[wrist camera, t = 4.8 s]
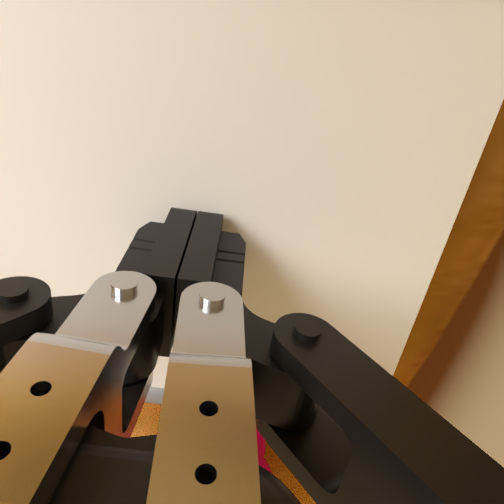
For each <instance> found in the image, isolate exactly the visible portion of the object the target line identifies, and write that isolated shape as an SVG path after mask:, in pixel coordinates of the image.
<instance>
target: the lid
mask: <svg viewBox="0 0 504 504" xmlns="http://www.w3.org/2000/svg"><path fill="white" fill-rule="evenodd" d="M503 99H504V0H0V279H3V278H8V277H15V276H28V277H34V278H37V279H40V280H42V281H44V282H46V283H47V284H48V285H49V287H50V289H51V297H57V296H71V295H80V294H85V293H86V292H87V291H88V289H89V288H90V287H91V285H92V284H93V283H94V282H95V280H97V279H98V278H99V277H101V276H103V275H105V274H108V273H111V272H115V271H116V269H117V267H118V265H119V264H120V262H121V260H122V258H123V256H124V254H125V253H126V251H127V249H129V245H130V243H131V242H132V240H133V238H134V236H135V234H136V232H137V231H138V229H139V228H141V227H142V226H144V225H145V224H147V223H149V222H150V221H151V222H159V223H164V222H165V220H166V218H167V216H168V213H169V211H170V209H171V207H173V208H180V209H187V210H195V211H197V214H198V211H202V212H210V213H217V214H224V217H223V226H222V231H225V232H232V233H240V235H241V236H242V238H243V239H244V241H245V242H246V251H245V263H244V276H243V289H242V299H243V302H244V304H245V306H246V307H247V308H248V309H249V310H250V311H251V312H252V313H254V314H255V315H257V316H259V317H260V318H263V319H265V320H268V321H270V322H273V323H276V321H277V320H278V319H279V318H280V317H282V316H284V315H287V314H290V313H306V314H311V315H314V316H317V317H319V318H321V319H323V320H325V321H326V322H328V323H329V324H330V325H332V326H333V327H334V328H335V329H336V330H338V331H339V332H340V333H341V334H342V335H344V336H345V337H346V338H347V339H348V340H350V341H351V342H352V343H353V344H355V345H356V346H357V347H358V348H359V349H361V350H362V351H363V352H364V353H365V354H367V355H368V356H369V357H370V358H371V359H373V360H374V361H375V362H376V363H378V364H379V365H380V366H381V367H382V368H384V369H385V370H386V371H387V372H388V373H390V374H391V375H392V376H393V374H394V372H395V369H396V367H397V364H398V362H399V359H400V357H401V354H402V352H403V349H404V347H405V344H406V342H407V339H408V337H409V334H410V332H411V329H412V327H413V324H414V322H415V319H416V317H417V314H418V312H419V309H420V307H421V304H422V302H423V299H424V297H425V294H426V292H427V289H428V287H429V284H430V282H431V279H432V277H433V274H434V272H435V269H436V267H437V264H438V262H439V259H440V257H441V254H442V252H443V249H444V247H445V244H446V242H447V239H448V237H449V234H450V232H451V229H452V227H453V224H454V222H455V219H456V217H457V214H458V212H459V209H460V207H461V204H462V202H463V199H464V197H465V194H466V192H467V189H468V187H469V184H470V182H471V179H472V177H473V174H474V172H475V169H476V167H477V164H478V162H479V159H480V157H481V154H482V152H483V149H484V147H485V144H486V142H487V139H488V137H489V134H490V132H491V129H492V127H493V124H494V122H495V119H496V117H497V114H498V112H499V109H500V107H501V104H502V102H503ZM172 350H173V346H172ZM172 350H171V353H172ZM168 361H169V357H163V356H158V360H157V363H156V366H155V368H154V370H153V381H152V384H151V387H150V389H149V392H148V394H147V397H146V399H145V402H146V403H154V404H162V399H163V393H164V387H165V380H166V374H167V368H168Z"/></svg>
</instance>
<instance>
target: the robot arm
mask: <svg viewBox="0 0 504 504" xmlns="http://www.w3.org/2000/svg"><path fill="white" fill-rule="evenodd" d="M223 217H224V214H217V213H210V212H202V211H198V214H197V211H195V210H187V209H180V208H173V207H171V209H170V211H169V213H168V216H167V218H166V220H165V222H164V223H159V222H151V221H150V222H149V223H147V224H145V225H144V226H142V227H141V228H139V229H138V231H137V232H136V234H135V236H134V238H133V240H132V242H131V243H130V245H129V249H127V251H126V253H125V254H124V256H123V258H122V260H121V262H120V264H119V265H118V267H117V269H116V271H115V272H111V273H108V274H105V275H103V276H101V277H99V278H98V279H97V280H95V282H94V283H93V284H92V285H91V287H90V288H89V289H88V291H87V292H86V293H85V294H80V295H71V296H57V297H51V289H50V287H49V285H48V284H47V283H46V282H44V281H42V280H40V279H37V278H34V277H28V276H15V277H8V278H3V279H0V504H301V503H300V502H299V501H298V499H297V498H296V497H295V496H294V494H293V493H292V492H291V491H290V490H289V489H288V488H287V487H286V486H285V485H284V484H283V482H281V481H280V480H279V479H278V478H277V477H276V476H274V475H273V474H272V473H271V472H269V471H268V470H266V469H265V468H263V467H262V466H260V465H258V450H257V434H256V427H257V429H258V431H259V433H260V434H261V436H262V437H263V438H264V439H265V440H266V442H267V443H268V444H269V445H270V447H271V448H272V449H273V450H274V452H275V453H276V454H277V455H278V456H279V458H280V459H281V460H282V461H283V463H284V464H285V465H286V466H287V468H288V469H289V470H290V471H291V473H292V474H293V475H294V476H295V477H296V479H297V480H298V481H299V482H300V484H301V485H302V486H303V487H304V489H305V490H306V491H307V492H308V494H309V495H310V496H311V497H312V498H313V500H314V501H315V502H316V503H317V504H504V468H503V467H502V466H501V465H500V464H498V463H497V462H496V461H495V460H494V459H492V458H491V457H490V456H489V455H488V454H486V453H485V452H484V451H483V450H481V449H480V448H479V447H478V446H477V445H475V444H474V443H473V442H472V441H471V440H469V439H468V438H467V437H466V436H465V435H463V434H462V433H461V432H460V431H459V430H457V429H456V428H455V427H453V426H452V425H451V424H450V423H449V422H448V421H446V420H445V419H444V418H443V417H442V416H440V415H439V414H438V413H437V412H436V411H434V410H433V409H432V408H431V407H430V406H428V405H427V404H426V403H425V402H423V401H422V400H421V399H420V398H418V397H417V396H416V395H415V394H414V393H412V392H411V391H410V390H409V389H408V388H407V387H405V386H404V385H403V384H402V383H401V382H399V381H398V380H397V379H396V378H394V377H393V376H392V375H391V374H390V373H388V372H387V371H386V370H385V369H384V368H382V367H381V366H380V365H379V364H378V363H376V362H375V361H374V360H373V359H371V358H370V357H369V356H368V355H367V354H365V353H364V352H363V351H362V350H361V349H359V348H358V347H357V346H356V345H355V344H353V343H352V342H351V341H350V340H348V339H347V338H346V337H345V336H344V335H342V334H341V333H340V332H339V331H338V330H336V329H335V328H334V327H333V326H332V325H330V324H329V323H328V322H326V321H325V320H323V319H321V318H319V317H317V316H314V315H311V314H306V313H290V314H287V315H284V316H282V317H280V318H279V319H278V320H277V321H276V323H273V322H270V321H268V320H265V319H263V318H260V317H259V316H257V315H255V314H254V313H252V312H251V311H250V310H249V309H248V308H247V307H246V306H245V304H244V302H243V299H242V289H243V276H244V263H245V251H246V242H245V241H244V239H243V238H242V236H241V235H240V233H232V232H225V231H222V226H223ZM172 346H173V350H172ZM171 350H172V353H171ZM158 356H163V357H169V361H168V368H167V374H166V380H165V387H164V393H163V399H162V406H161V412H160V419H159V425H158V431H157V435H150V436H141V437H131V434H132V432H133V429H134V427H135V424H136V422H137V419H138V417H139V414H140V412H141V409H142V407H143V404H144V402H145V399H146V397H147V394H148V392H149V389H150V387H151V384H152V381H153V370H154V368H155V366H156V363H157V360H158ZM130 437H131V438H130Z"/></svg>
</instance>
